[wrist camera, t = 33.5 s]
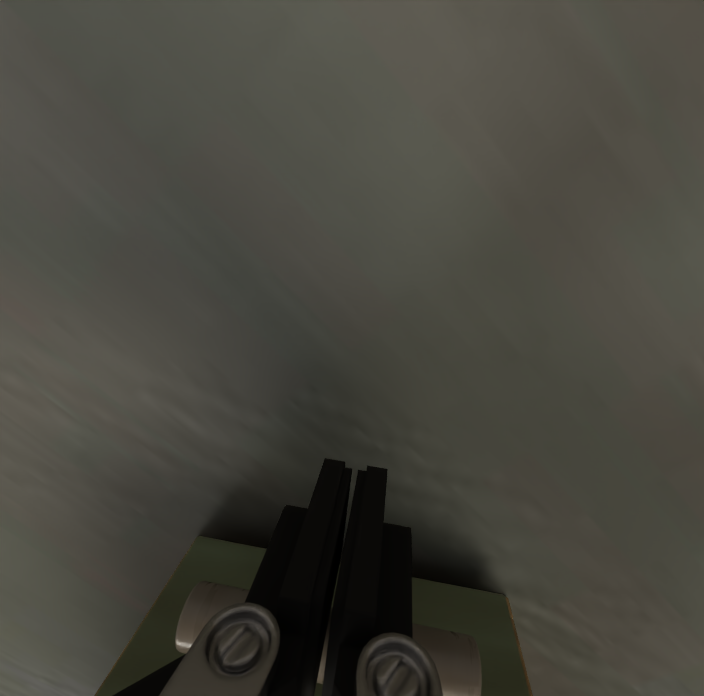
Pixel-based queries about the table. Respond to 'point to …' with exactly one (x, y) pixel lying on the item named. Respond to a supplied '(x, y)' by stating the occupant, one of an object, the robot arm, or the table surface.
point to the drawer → (427, 622)
